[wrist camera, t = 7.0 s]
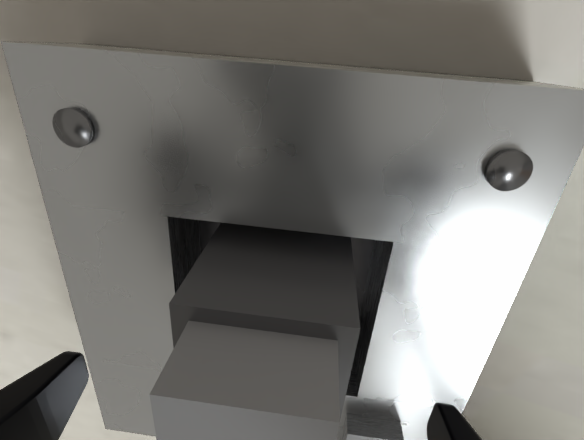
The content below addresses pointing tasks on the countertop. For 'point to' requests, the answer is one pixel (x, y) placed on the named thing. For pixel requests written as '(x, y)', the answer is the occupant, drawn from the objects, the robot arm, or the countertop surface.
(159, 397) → the plug
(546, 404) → the countertop surface
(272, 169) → the faceplate
